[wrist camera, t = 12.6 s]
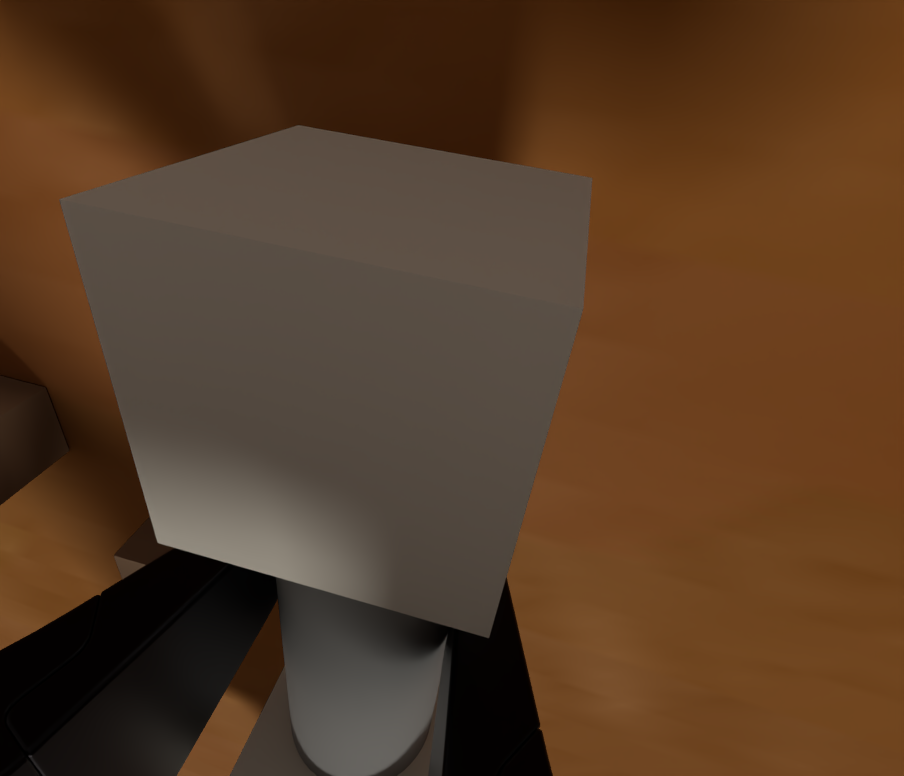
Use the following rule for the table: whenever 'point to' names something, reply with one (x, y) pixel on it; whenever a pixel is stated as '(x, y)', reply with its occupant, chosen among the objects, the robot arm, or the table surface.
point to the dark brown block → (51, 460)
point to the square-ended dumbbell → (341, 401)
